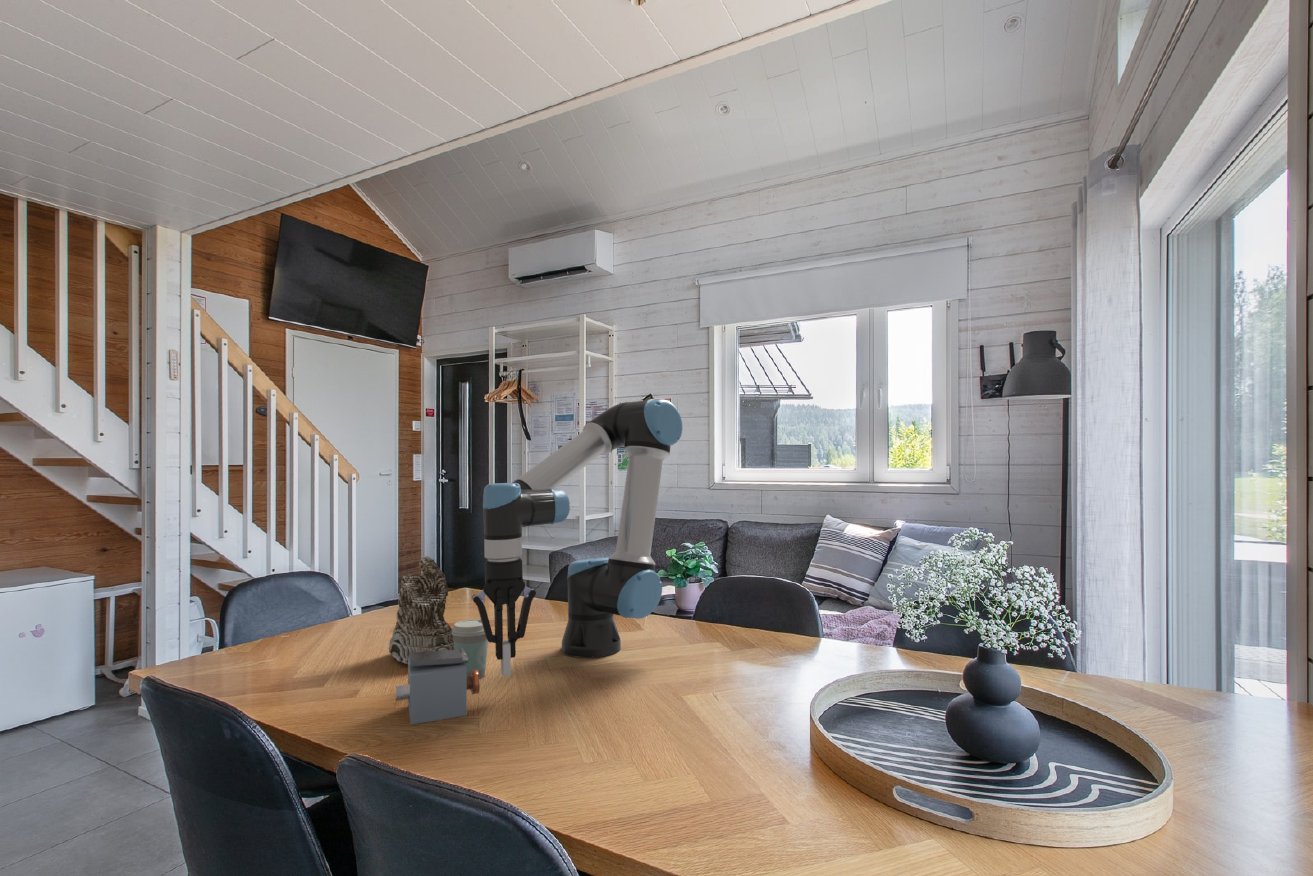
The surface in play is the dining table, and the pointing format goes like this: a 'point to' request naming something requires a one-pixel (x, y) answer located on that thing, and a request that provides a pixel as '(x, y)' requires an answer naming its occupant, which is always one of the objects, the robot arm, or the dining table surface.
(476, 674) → the lynch pin
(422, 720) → the block
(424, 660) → the keeper plate
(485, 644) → the coffee cup
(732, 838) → the dining table surface
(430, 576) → the sculpture
